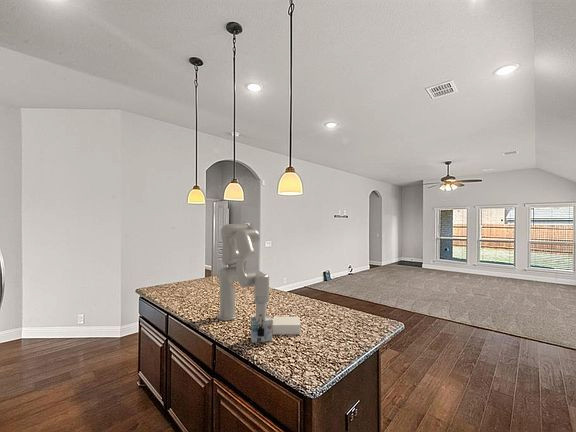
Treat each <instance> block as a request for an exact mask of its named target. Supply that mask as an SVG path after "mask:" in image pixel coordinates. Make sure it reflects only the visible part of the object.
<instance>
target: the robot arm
mask: <svg viewBox="0 0 576 432" xmlns="http://www.w3.org/2000/svg"><path fill="white" fill-rule="evenodd" d="M220 237H221V241H222V246H221V247H222V248H221V249H222V250H221V251H222V252H221V262H222V264H223V265H225V267H221V268H220V269H219V271H218V280H219V313H218V314H217V317H216V318H217V320H219V321H231V320H234V319H237V318H238V316H239V315H238V313H237V312H236V287H235V285H234V284H233V282H238V284H239V286H240V287H242V288H249V287H251V288H252V287H254V290H253V291H254V293H253V294H254V295H253V297H254V299H253V301H254V303H255V317H256V320H255V322H256V323H257V322H258V336H264V322H265V319H266V316H267V309H268V308H267V307H268V306H267V303H269V302H270V276H269V274H267V273H264V272H263V271H259V270H258V271H248V272H247V265H248V260H250V259H252V258H253V257H254V256H255V255H256V251H255V249H254V245H253V244H258V243H259V241H260V238H261V237H260V233H259V231H258V230H257V229H256V228H255V227H253V226H252V225H250V224H247V223H230V224H229V223H228V224H224V225H223V226H222V227H221V229H220ZM262 321H263V322H262ZM262 323H263V325H262Z"/></svg>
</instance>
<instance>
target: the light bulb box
mask: <svg viewBox="0 0 576 432" xmlns="http://www.w3.org/2000/svg"><path fill="white" fill-rule="evenodd" d="M255 320H256V316H252V317H251V316H250V340H251V344H252V343H253V344H255V343H265V342H272V341H273V319H272V316H271V315H266V319H265V322H264V336H258V322H257V323H256V322H255ZM262 322H263V321H262ZM262 325H263V323H262Z"/></svg>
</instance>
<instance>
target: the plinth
mask: <svg viewBox="0 0 576 432" xmlns="http://www.w3.org/2000/svg"><path fill="white" fill-rule="evenodd" d="M300 319H301V318H300V316H273V319H272V320H273V324H272V335H301V320H300Z"/></svg>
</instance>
